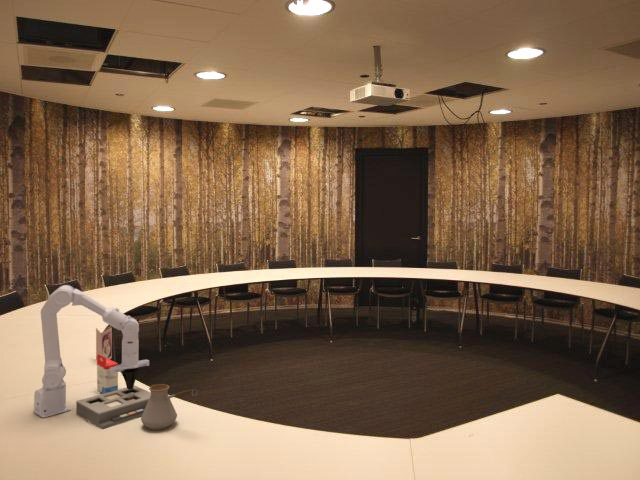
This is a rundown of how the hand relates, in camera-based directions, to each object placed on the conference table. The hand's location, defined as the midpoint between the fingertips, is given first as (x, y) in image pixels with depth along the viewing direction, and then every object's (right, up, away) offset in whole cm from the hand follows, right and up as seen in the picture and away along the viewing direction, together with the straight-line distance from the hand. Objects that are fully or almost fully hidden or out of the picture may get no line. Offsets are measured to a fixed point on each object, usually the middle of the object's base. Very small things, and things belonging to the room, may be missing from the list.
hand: (129, 388), depth 187 cm
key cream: (-1, -4, -11) cm, 12 cm away
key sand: (-4, -3, -5) cm, 7 cm away
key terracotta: (+3, -4, -6) cm, 8 cm away
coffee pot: (+21, -7, -20) cm, 30 cm away
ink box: (-13, -5, +12) cm, 19 cm away
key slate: (0, -4, 0) cm, 4 cm away
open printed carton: (-33, -2, +51) cm, 60 cm away
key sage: (-8, -4, -10) cm, 14 cm away
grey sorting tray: (-1, -6, -7) cm, 10 cm away
